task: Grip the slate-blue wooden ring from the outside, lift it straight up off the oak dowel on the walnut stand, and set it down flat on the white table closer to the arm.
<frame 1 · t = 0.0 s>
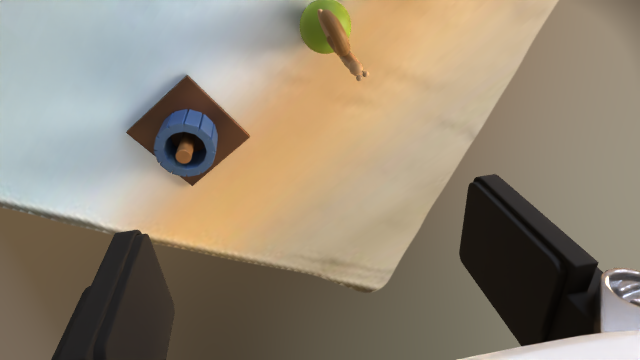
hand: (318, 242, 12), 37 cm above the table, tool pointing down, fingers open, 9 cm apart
dowel stand: (190, 133, 48), on the table
snail figurine: (322, 26, 45), on the table
blue ring: (189, 135, 47), point 1 cm above the table, touching dowel stand
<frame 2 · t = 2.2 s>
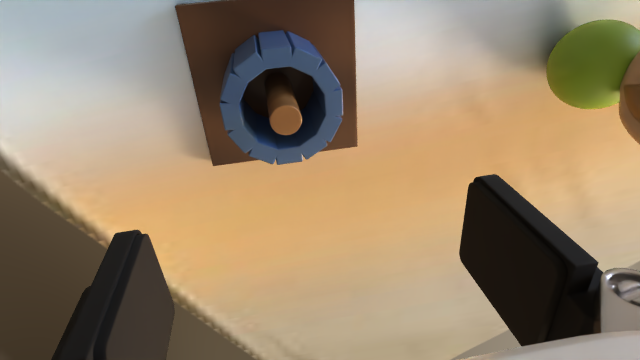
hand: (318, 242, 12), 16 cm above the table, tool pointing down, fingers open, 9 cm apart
dowel stand: (277, 82, 25), on the table
snail figurine: (561, 62, 28), on the table
blue ring: (277, 85, 25), point 1 cm above the table, touching dowel stand
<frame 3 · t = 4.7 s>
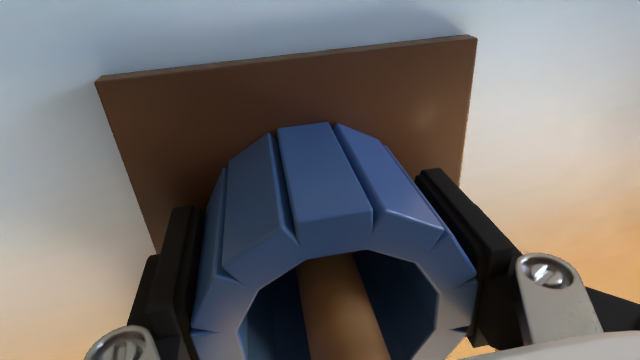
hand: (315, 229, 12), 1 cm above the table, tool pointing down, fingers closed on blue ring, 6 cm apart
dowel stand: (309, 206, 13), on the table
blue ring: (311, 216, 13), point 1 cm above the table, touching dowel stand, gripper
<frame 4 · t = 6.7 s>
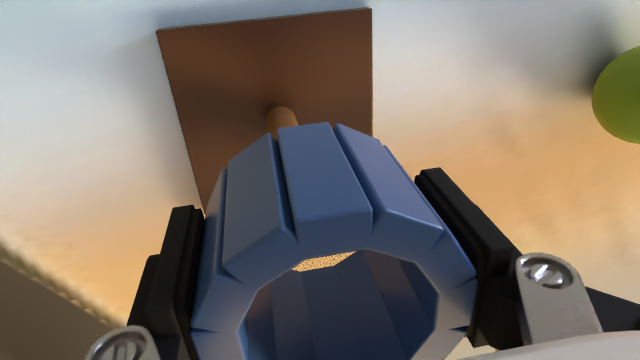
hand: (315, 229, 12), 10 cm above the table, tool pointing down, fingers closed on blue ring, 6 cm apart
dowel stand: (279, 117, 21), on the table
snail figurine: (606, 88, 24), on the table
blue ring: (311, 216, 13), point 10 cm above the table, touching gripper
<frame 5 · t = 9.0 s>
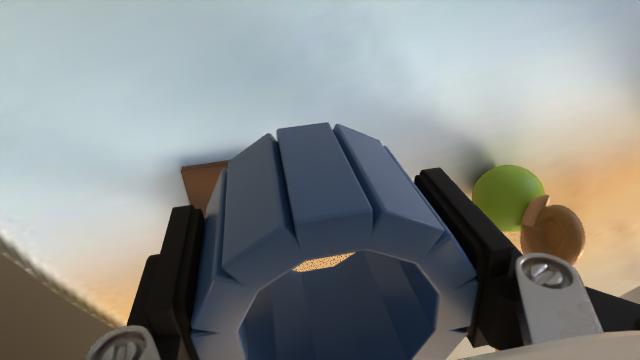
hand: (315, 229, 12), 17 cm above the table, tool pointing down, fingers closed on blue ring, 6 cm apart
dowel stand: (259, 212, 32), on the table
snail figurine: (486, 185, 35), on the table
blue ring: (311, 217, 13), point 17 cm above the table, touching gripper
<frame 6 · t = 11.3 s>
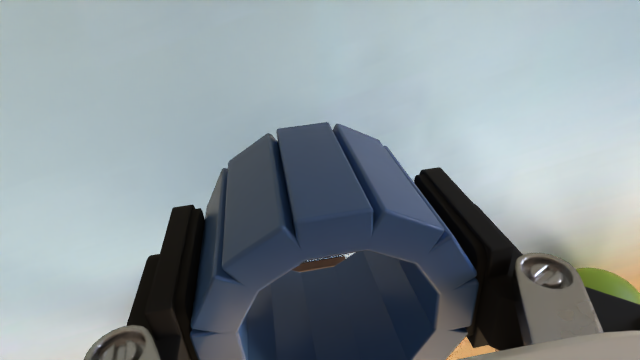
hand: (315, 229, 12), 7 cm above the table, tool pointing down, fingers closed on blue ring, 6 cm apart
dowel stand: (269, 329, 25), on the table
snail figurine: (559, 284, 27), on the table
blue ring: (311, 217, 13), point 7 cm above the table, touching gripper
when the fingers open (1 cm above the table, at t = 13.3 s): blue ring stays where it is, on the table.
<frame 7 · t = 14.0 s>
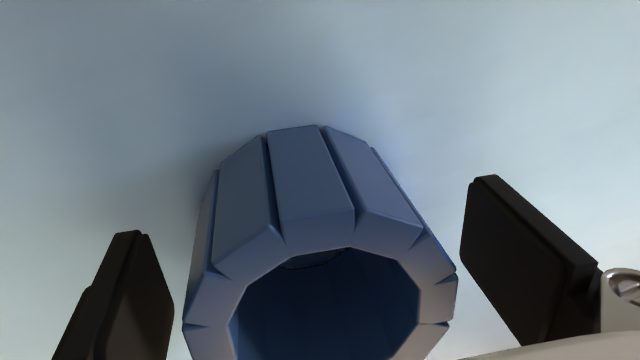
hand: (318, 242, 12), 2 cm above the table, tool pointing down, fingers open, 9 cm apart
blue ring: (302, 216, 13), on the table
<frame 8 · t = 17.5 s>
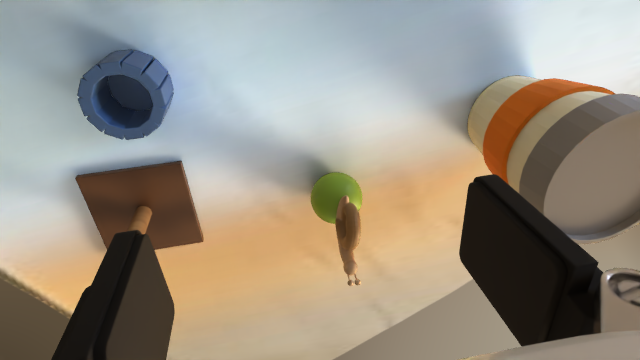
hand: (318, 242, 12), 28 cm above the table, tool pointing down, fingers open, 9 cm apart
dowel stand: (145, 209, 42), on the table
reusable coffee cup: (504, 115, 44), on the table
snail figurine: (330, 188, 45), on the table
blue ring: (135, 86, 36), on the table
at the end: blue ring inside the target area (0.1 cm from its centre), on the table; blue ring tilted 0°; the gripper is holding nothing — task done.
